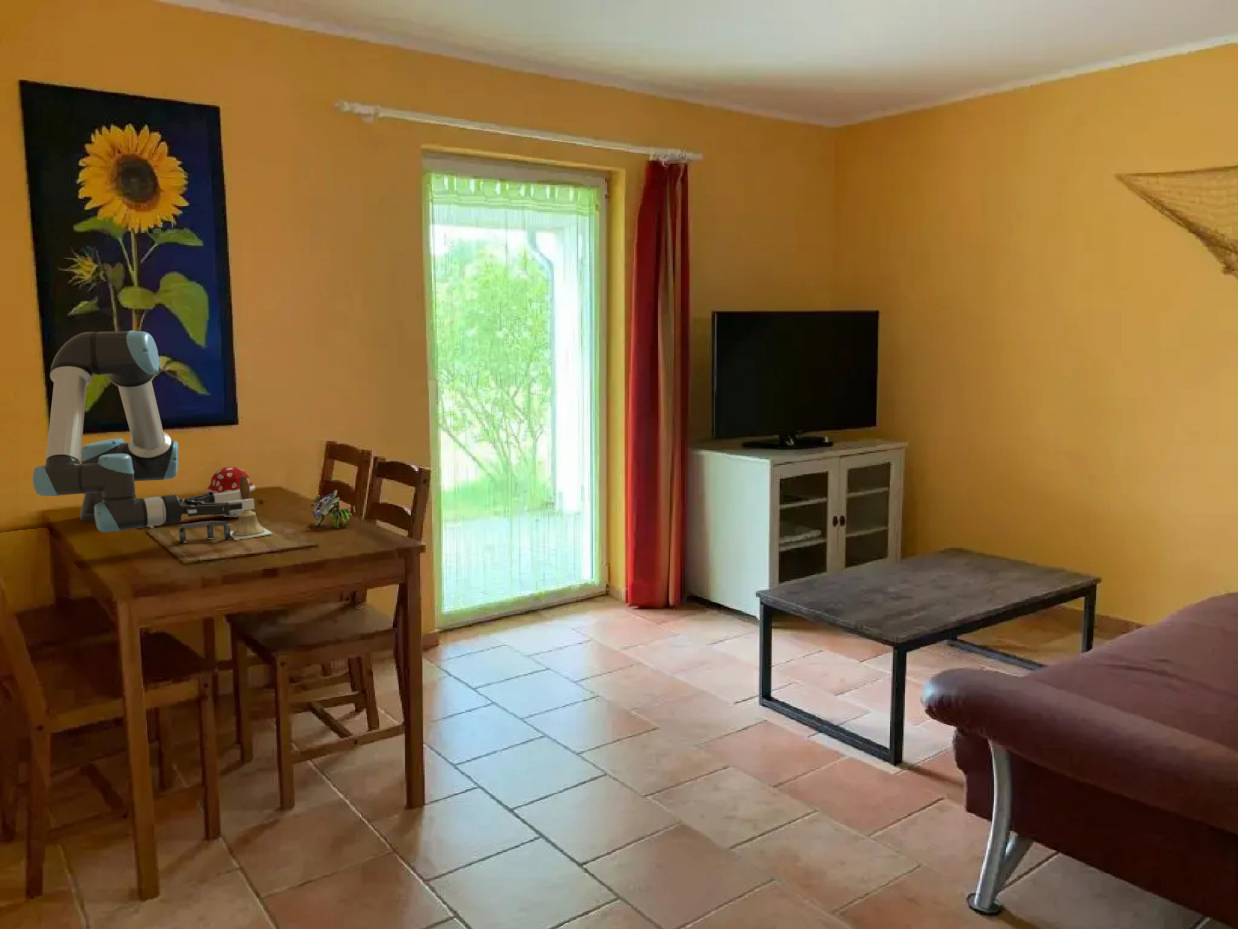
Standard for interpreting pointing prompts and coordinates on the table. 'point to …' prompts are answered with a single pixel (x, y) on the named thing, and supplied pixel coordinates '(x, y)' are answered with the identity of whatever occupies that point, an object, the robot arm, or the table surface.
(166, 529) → the table surface
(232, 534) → the pad
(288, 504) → the table surface
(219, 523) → the gray stand
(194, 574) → the table surface
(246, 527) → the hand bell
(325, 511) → the passion flower
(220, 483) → the decorative mushroom
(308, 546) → the table surface
